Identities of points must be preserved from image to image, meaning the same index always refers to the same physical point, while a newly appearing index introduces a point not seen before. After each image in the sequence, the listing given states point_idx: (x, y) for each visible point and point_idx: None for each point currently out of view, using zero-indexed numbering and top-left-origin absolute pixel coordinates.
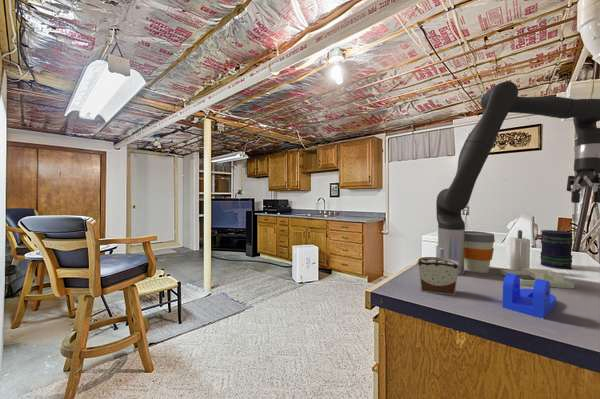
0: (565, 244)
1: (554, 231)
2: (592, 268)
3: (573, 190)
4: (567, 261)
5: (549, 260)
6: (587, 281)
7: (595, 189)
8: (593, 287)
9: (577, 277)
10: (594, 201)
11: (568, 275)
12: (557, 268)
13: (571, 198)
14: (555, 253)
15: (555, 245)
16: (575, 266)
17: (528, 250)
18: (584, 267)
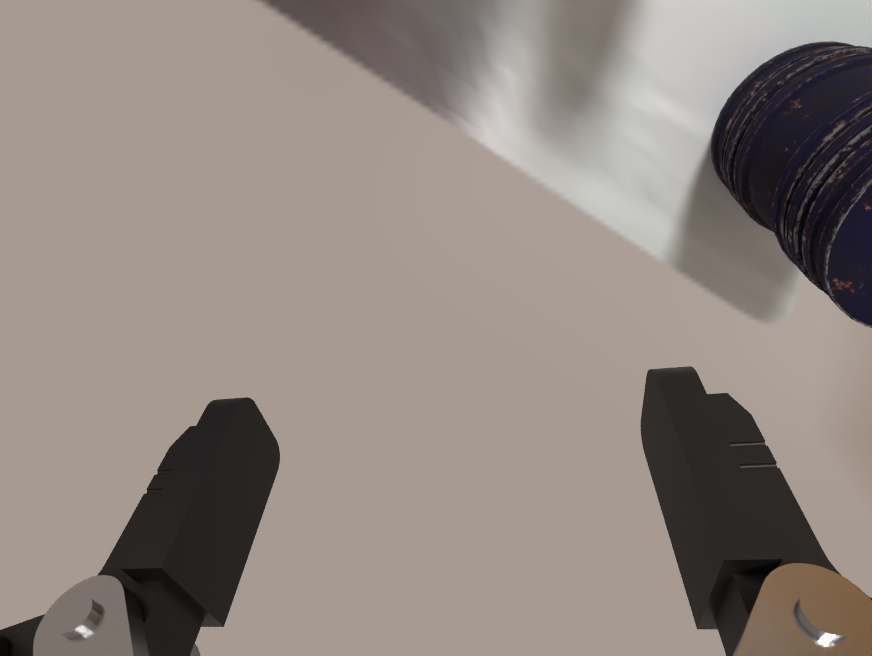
0: (781, 201)
1: None
2: (736, 300)
3: (755, 630)
4: (727, 168)
5: (785, 71)
6: (455, 96)
7: (61, 616)
8: (342, 50)
9: (528, 93)
10: (211, 402)
11: (564, 65)
12: (728, 100)
13: (759, 440)
14: (784, 117)
15: (814, 132)
16: None
17: None
18: (758, 277)
